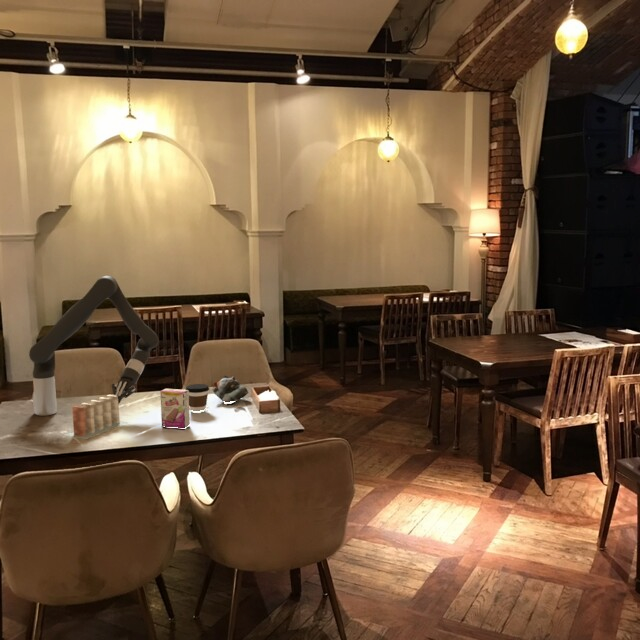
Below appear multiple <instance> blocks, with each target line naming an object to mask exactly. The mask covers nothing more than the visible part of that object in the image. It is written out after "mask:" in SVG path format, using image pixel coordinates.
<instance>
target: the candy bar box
mask: <svg viewBox="0 0 640 640" xmlns="http://www.w3.org/2000/svg"><path fill="white" fill-rule="evenodd" d="M160 410H161V411H160V412H161V413H160V415H161V416H160V417H161V427H162V426H165V427H178V428H185V427H187V426H188V425H189V424H190V423H191V422H190V421H191V420H190V406H189V390H185V389H176V388H164V389H162V390H160Z"/></svg>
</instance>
